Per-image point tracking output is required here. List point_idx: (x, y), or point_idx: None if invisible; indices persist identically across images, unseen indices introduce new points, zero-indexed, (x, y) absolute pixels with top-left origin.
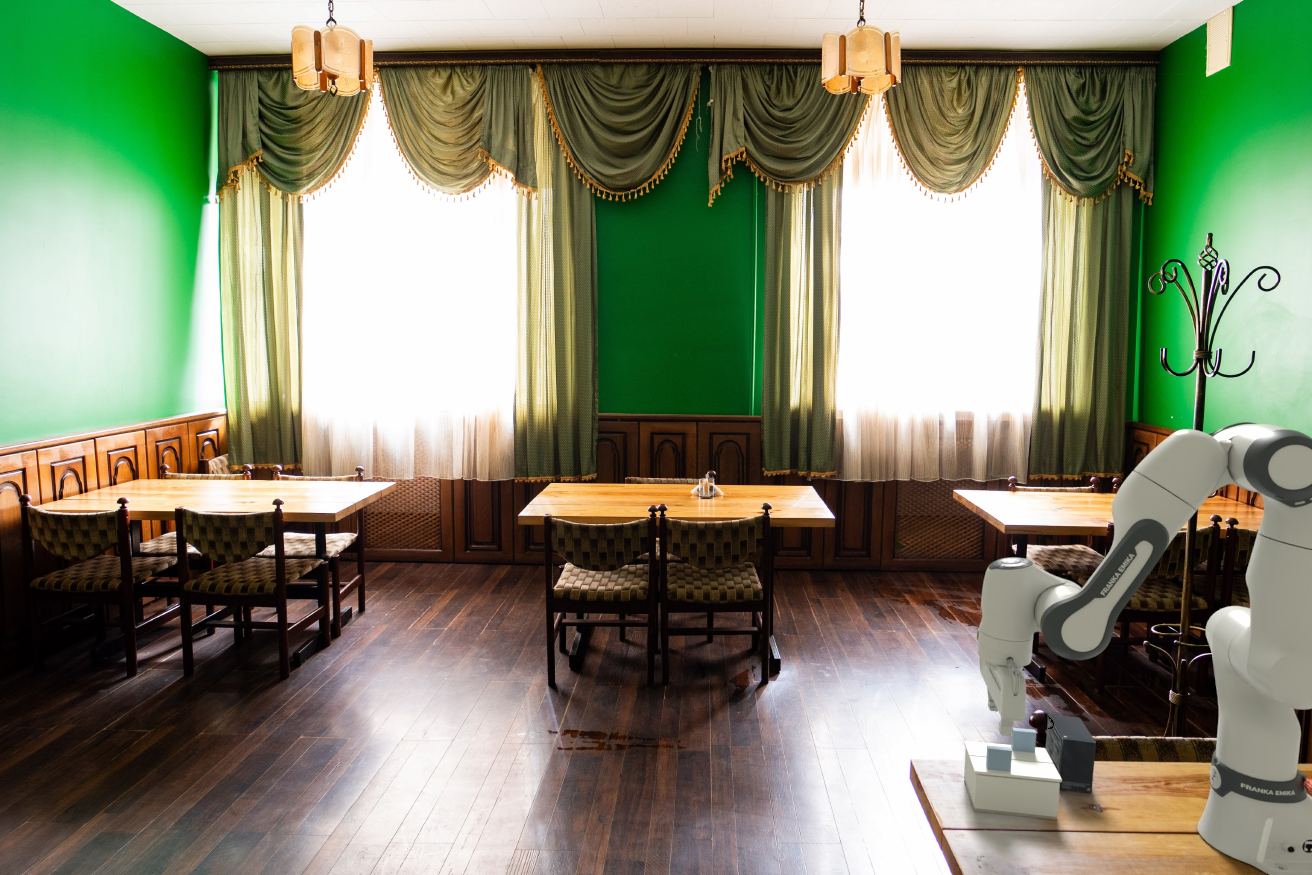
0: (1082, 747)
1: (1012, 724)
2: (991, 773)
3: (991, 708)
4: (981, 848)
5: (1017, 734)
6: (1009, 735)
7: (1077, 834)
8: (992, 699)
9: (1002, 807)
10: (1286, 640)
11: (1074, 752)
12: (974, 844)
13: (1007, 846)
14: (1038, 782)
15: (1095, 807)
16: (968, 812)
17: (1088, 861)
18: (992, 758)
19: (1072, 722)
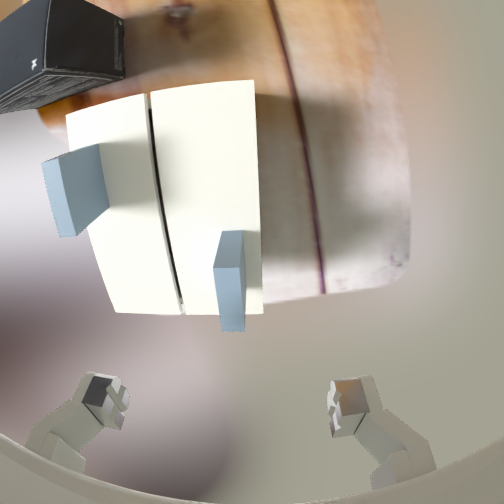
0: (61, 18)
1: (403, 423)
2: (261, 277)
3: (124, 400)
4: (374, 256)
5: (79, 216)
6: (370, 377)
7: (301, 66)
8: (94, 420)
9: None
10: None
11: (72, 38)
12: (364, 265)
13: (366, 214)
14: None
15: (178, 13)
16: (267, 263)
17: (389, 81)
18: (244, 298)
19: None
